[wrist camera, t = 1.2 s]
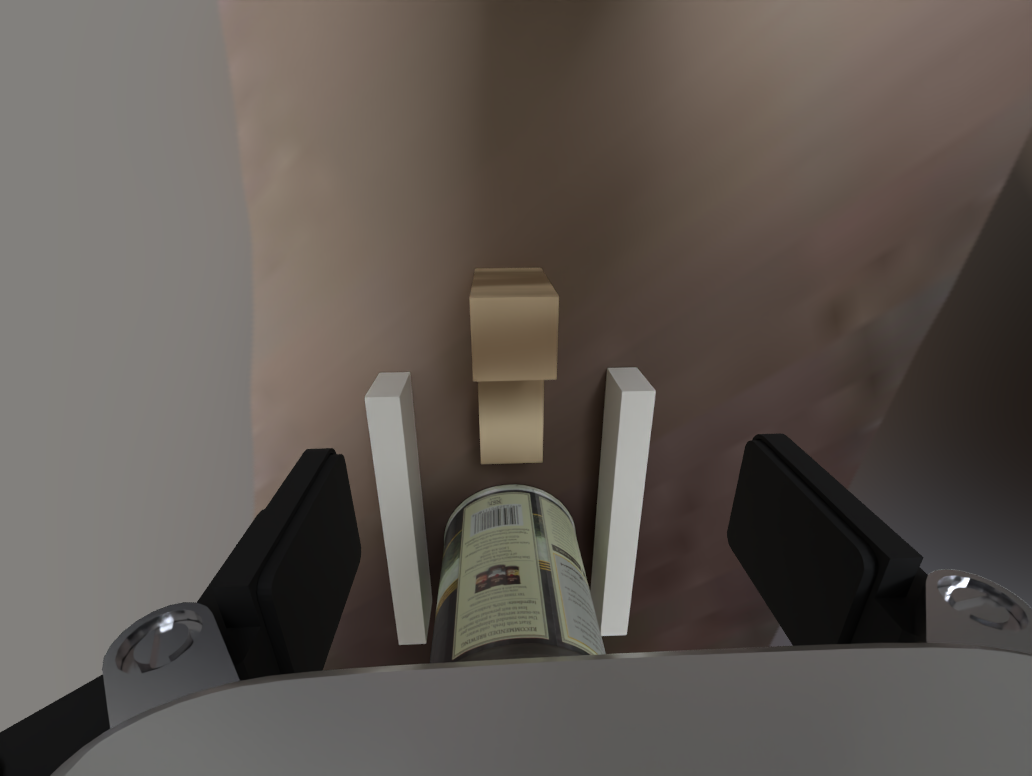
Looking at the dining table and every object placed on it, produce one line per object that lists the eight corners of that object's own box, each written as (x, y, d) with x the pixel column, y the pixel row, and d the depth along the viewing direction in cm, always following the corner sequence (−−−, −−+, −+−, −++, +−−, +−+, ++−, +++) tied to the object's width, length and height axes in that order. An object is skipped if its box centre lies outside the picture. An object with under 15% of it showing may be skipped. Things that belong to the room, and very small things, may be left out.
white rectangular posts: (379, 372, 31) (364, 397, 27) (636, 367, 32) (655, 390, 28) (407, 601, 39) (398, 644, 35) (614, 593, 40) (626, 634, 36)
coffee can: (501, 608, 40) (506, 812, 27) (416, 533, 36) (374, 725, 23) (603, 544, 38) (661, 732, 25) (522, 457, 34) (541, 623, 21)
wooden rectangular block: (475, 268, 29) (469, 298, 21) (540, 267, 29) (558, 296, 21) (481, 441, 34) (478, 518, 26) (538, 439, 34) (552, 515, 26)
